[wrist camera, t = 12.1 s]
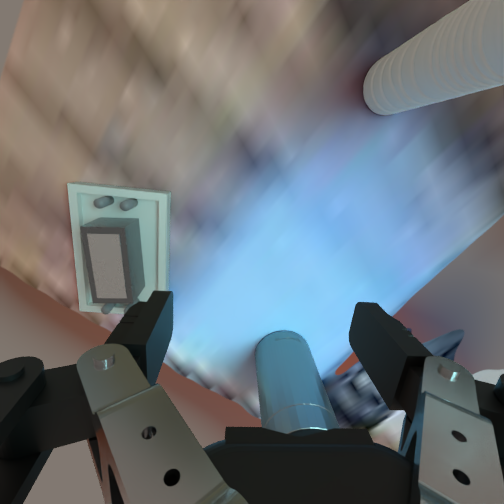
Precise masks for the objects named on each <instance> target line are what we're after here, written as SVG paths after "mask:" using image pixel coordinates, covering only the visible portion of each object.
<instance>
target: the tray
mask: <svg viewBox="0 0 504 504" xmlns="http://www.w3.org/2000/svg"><path fill="white" fill-rule="evenodd" d="M67 186H68V196H69V207H70V217H71V227H72V237H73V247H74V258H75V268H76V278H77V288H78V299H79V309H80V311H86V312H100V313H103V314H109V313H115V314H125V313H126V312H127V310H128V309H129V308H130V307H131V306H133V305H134V304H136V303H137V302H139V301H143V302H147V300H148V299H149V297H150V296H151V294H152V292H153V291H154V290H159V291H169V254H170V204H171V192H168V191H159V190H150V189H141V188H131V187H122V186H113V185H103V184H94V183H85V182H72V183H67ZM100 217H107V218H139V226H140V236H141V247H142V257H143V268H144V278H145V287H144V289H143V290H142V292H141V293H140V295H139V296H138V298H137V299H136V300H135V302H134V303H133V304H113V303H93V301H92V295H91V289H90V283H89V277H88V272H87V266H86V260H85V254H84V248H83V242H82V236H81V230H80V226H82V225H84V224H87V223H89V222H91V221H93V220H95V219H97V218H100Z"/></svg>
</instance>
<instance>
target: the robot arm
mask: <svg viewBox="0 0 504 504" xmlns="http://www.w3.org/2000/svg"><path fill="white" fill-rule="evenodd" d="M172 331H173V292H172V291H159V290H154V291H153V292H152V294H151V296H150V297H149V299H148V300H147V302H143V301H139V302H137V303H136V304H134V305H133V306H131V307H130V308H129V309H128V310H127V312H126V313H125V315H124V317H123V318H122V319H121V320H120V323H118V325H117V326H116V328H115V329H114V330H113V332H112V333H111V335H110V336H109V338H108V339H107V341H106V342H105V344H104V345H100V346H97V347H94V348H92V349H90V350H88V351H87V352H85V353H84V354H83V355H82V356H81V357H80V358H79V359H78V361H77V364H73V365H69V366H63V367H58V368H52V369H47V370H44V365H43V362H42V361H41V360H40V359H38V358H36V357H18V358H14V359H10V360H7V361H4V362H1V363H0V504H23V502H24V501H25V499H26V497H27V495H28V493H29V492H30V490H31V488H32V486H33V484H34V483H35V481H36V479H37V477H38V475H39V474H40V472H41V470H42V468H43V466H44V465H45V463H46V461H47V459H48V457H49V456H50V454H51V452H52V450H53V448H57V447H60V446H64V445H67V444H71V443H75V442H78V441H82V440H86V439H87V443H88V446H89V449H90V452H91V456H92V459H93V463H94V466H95V469H96V473H97V476H98V479H99V483H100V486H101V489H102V493H103V497H104V501H105V504H504V374H502V375H501V376H500V378H499V380H498V382H497V384H496V385H494V384H490V383H486V382H482V381H478V380H474V377H473V376H472V374H471V373H470V372H469V371H468V370H467V369H465V368H464V367H463V366H461V365H459V364H458V363H456V362H454V361H452V360H449V359H447V358H443V357H439V356H433V355H432V354H431V353H430V352H429V351H428V350H427V349H426V348H425V347H424V346H423V345H422V344H421V343H420V342H419V341H418V340H417V339H416V338H415V337H413V335H412V334H411V333H410V332H409V331H407V329H406V328H405V327H404V326H403V324H402V323H400V321H398V320H396V319H394V318H393V317H392V316H390V315H388V314H387V313H386V312H385V311H384V310H383V309H382V308H381V307H380V306H379V305H378V304H377V303H370V302H358V303H357V304H356V306H355V310H354V314H353V318H352V322H351V327H350V331H349V342H350V345H351V347H352V349H353V351H354V352H355V354H356V356H357V357H358V359H359V361H360V362H361V364H362V365H363V367H364V369H365V370H366V372H367V374H368V375H369V377H370V379H371V380H372V382H373V384H374V385H375V387H376V388H377V390H378V392H379V393H380V395H381V397H382V398H383V400H384V402H385V403H386V405H387V406H388V408H389V410H404V411H405V412H406V415H405V418H404V420H403V426H402V432H401V438H400V444H399V449H398V452H396V451H394V450H392V449H390V448H388V447H386V446H383V445H380V444H378V443H374V442H373V440H372V438H371V436H370V434H369V432H368V430H367V429H343V428H340V427H339V425H338V422H337V420H336V417H335V415H334V412H333V409H332V407H331V404H330V402H329V399H328V396H327V394H326V391H325V388H324V386H323V383H322V380H321V378H320V375H319V373H318V370H317V367H316V365H315V362H314V359H313V357H312V354H311V351H310V349H309V346H308V344H307V342H306V340H305V339H304V338H303V337H302V336H300V335H299V334H297V333H294V332H290V331H279V332H274V333H272V334H269V335H268V336H266V337H265V338H263V339H262V340H261V341H260V343H259V344H258V346H257V348H256V352H255V360H256V371H257V382H258V393H259V403H260V414H261V424H262V427H226V431H225V440H222V441H218V442H216V443H213V444H211V445H208V446H207V447H205V448H202V447H201V445H200V444H199V442H198V441H197V439H196V438H195V436H194V434H193V433H192V431H191V430H190V428H189V427H188V426H187V424H186V422H185V421H184V419H183V418H182V416H181V415H180V413H179V412H178V410H177V409H176V407H175V406H174V404H173V403H172V401H171V400H170V398H169V397H168V395H167V393H166V392H165V390H164V389H163V388H162V386H161V385H160V384H155V383H156V380H157V377H158V374H159V372H160V369H161V366H162V363H163V360H164V357H165V354H166V352H167V349H168V346H169V343H170V340H171V337H172Z"/></svg>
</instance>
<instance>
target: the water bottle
mask: <svg viewBox="0 0 504 504" xmlns="http://www.w3.org/2000/svg"><path fill="white" fill-rule="evenodd" d="M501 85H504V0H469V1H468V2H467V3H465V4H463V5H462V6H460V7H459V8H458V9H456V10H454V11H453V12H451V13H449V14H448V15H446V16H444V17H443V18H441V19H440V20H439V21H437V22H436V23H434V24H433V25H431V26H429V27H428V28H426V29H425V30H424V31H422V32H421V33H419V34H417V35H416V36H414V37H413V38H412V39H410V40H408V41H407V42H405V43H404V44H402V45H401V46H400V47H398V48H396V49H395V50H393V51H392V52H390V53H389V54H387V55H385V56H384V57H383V58H381V59H380V60H378V61H377V62H376V63H375V64H374V65H373V66H372V67H371V68H370V70H369V72H368V73H367V75H366V77H365V80H364V85H363V89H364V90H363V96H364V100H365V102H366V104H367V105H368V107H369V108H370V109H371V110H372V111H373V112H374V113H376V114H380V115H392V114H396V113H399V112H403V111H407V110H410V109H414V108H418V107H421V106H426V105H430V104H433V103H437V102H441V101H445V100H448V99H453V98H457V97H460V96H463V95H467V94H471V93H474V92H478V91H482V90H485V89H490V88H493V87H497V86H501Z"/></svg>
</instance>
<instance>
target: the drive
mask: <svg viewBox="0 0 504 504" xmlns="http://www.w3.org/2000/svg"><path fill="white" fill-rule="evenodd" d="M80 230H81V236H82V242H83V248H84V254H85V260H86V266H87V272H88V277H89V283H90V289H91V295H92V301H93V303H113V304H133V303H134V302H135V300H136V299H137V298H138V296H139V295H140V293H141V292H142V290H143V289H144V287H145V278H144V268H143V257H142V247H141V236H140V226H139V218H107V217H100V218H97V219H95V220H93V221H91V222H89V223H87V224H84V225H82V226H80Z"/></svg>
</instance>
